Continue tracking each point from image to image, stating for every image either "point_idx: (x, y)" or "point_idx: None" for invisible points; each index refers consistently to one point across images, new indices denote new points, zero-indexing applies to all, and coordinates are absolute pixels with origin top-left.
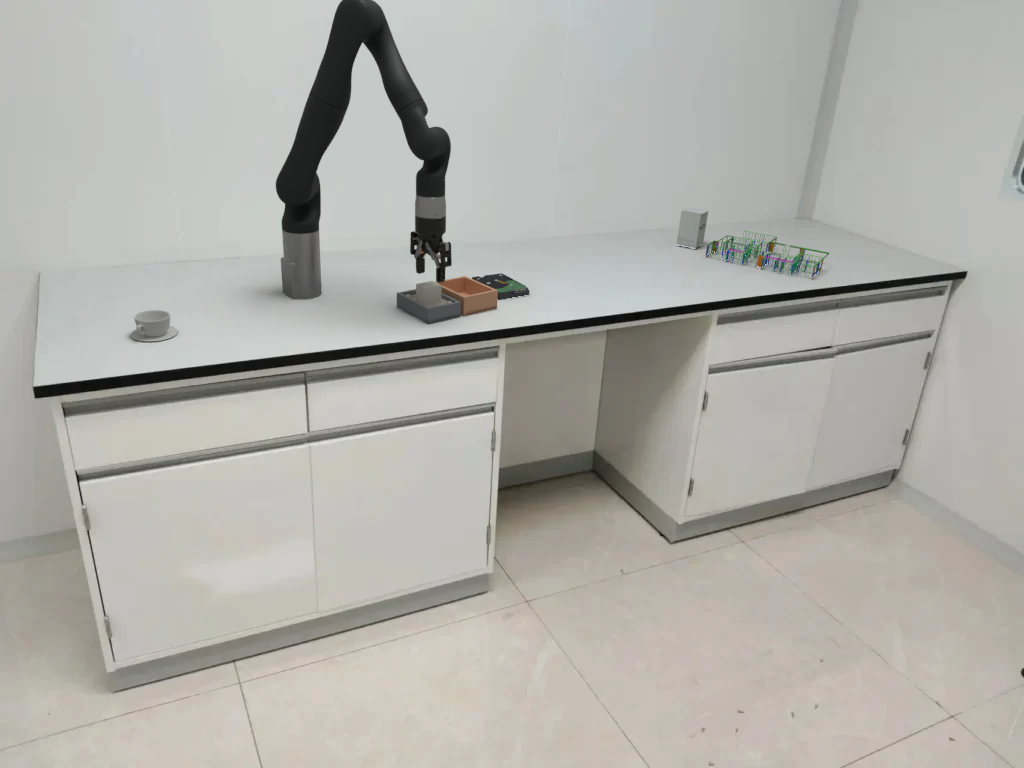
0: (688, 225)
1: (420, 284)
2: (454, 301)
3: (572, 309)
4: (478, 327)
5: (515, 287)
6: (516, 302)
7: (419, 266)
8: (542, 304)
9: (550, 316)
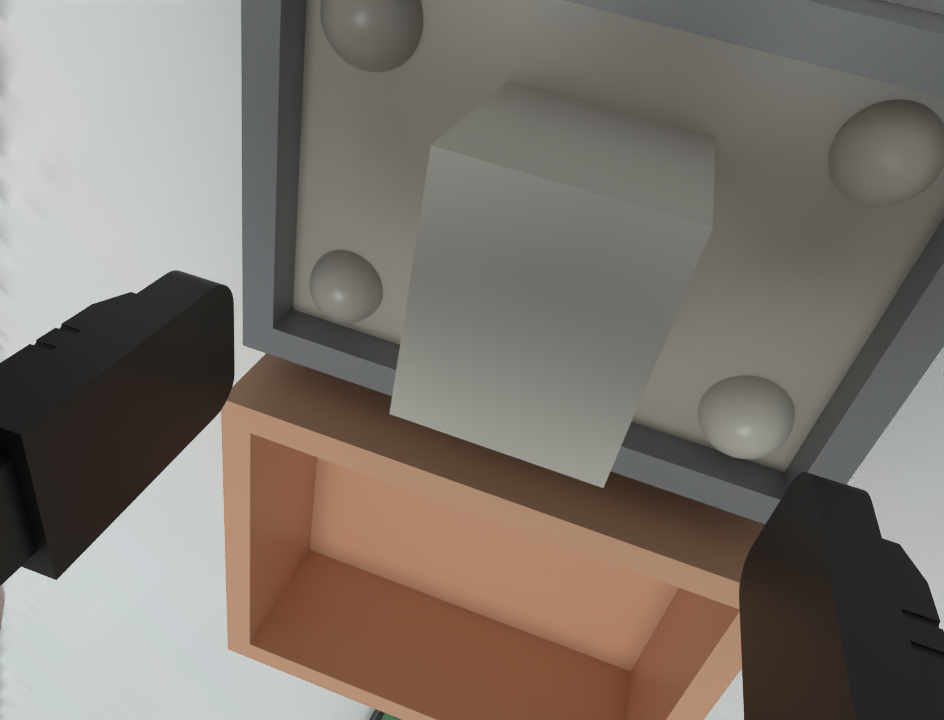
0: None
1: (630, 255)
2: (309, 334)
3: (106, 672)
4: (75, 180)
5: None
6: None
7: (806, 605)
8: (220, 678)
9: (70, 567)
